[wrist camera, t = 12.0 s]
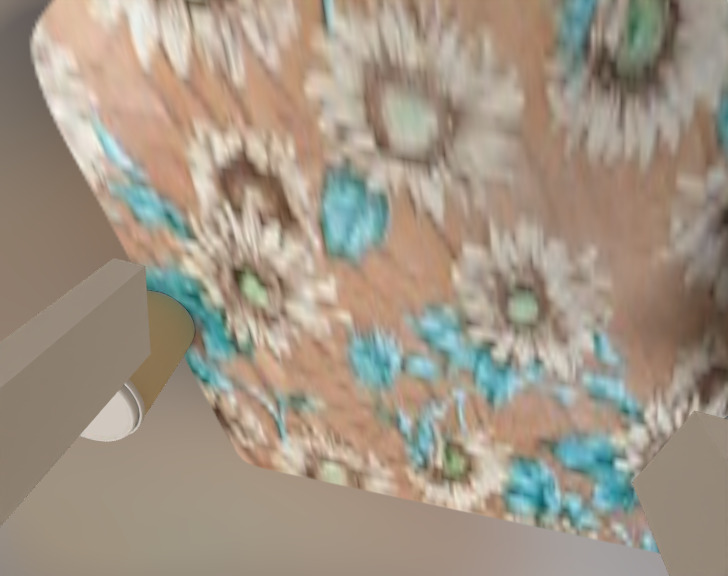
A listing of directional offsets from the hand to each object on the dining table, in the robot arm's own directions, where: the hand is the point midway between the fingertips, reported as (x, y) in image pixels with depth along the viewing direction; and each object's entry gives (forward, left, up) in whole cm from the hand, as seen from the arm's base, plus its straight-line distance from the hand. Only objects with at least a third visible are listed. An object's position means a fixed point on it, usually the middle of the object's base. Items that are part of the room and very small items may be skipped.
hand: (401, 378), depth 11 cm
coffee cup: (+22, +25, -27) cm, 43 cm away
